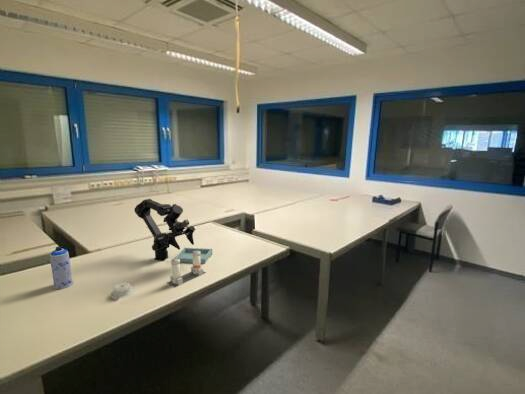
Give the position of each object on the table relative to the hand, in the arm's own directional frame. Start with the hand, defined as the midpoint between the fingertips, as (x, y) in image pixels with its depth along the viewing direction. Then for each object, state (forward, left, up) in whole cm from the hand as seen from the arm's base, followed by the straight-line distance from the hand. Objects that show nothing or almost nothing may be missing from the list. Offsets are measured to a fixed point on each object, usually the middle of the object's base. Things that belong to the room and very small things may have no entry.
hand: (186, 246), depth 155 cm
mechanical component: (-22, -27, -14) cm, 38 cm away
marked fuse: (+7, -5, -13) cm, 15 cm away
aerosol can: (-55, -23, -14) cm, 61 cm away
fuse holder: (+3, -10, -14) cm, 17 cm away
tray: (-1, +15, -14) cm, 21 cm away
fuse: (0, -16, -13) cm, 20 cm away
